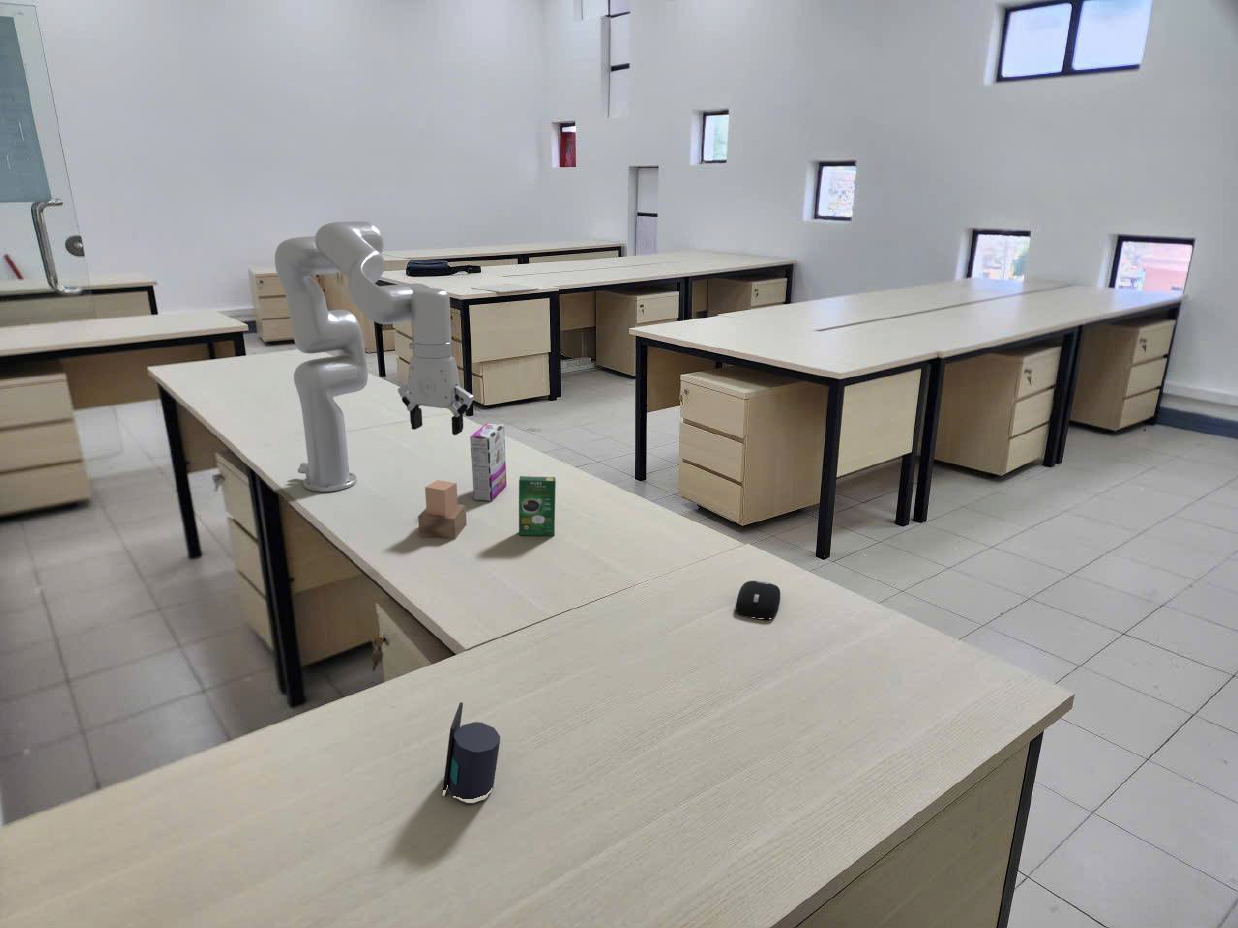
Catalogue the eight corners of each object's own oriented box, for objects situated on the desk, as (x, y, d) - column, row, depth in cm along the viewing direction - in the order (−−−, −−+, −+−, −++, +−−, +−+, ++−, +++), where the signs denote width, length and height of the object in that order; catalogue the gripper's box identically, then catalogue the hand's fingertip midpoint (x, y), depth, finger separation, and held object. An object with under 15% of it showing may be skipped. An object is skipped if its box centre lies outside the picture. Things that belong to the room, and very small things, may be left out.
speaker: (426, 793, 103) (431, 724, 100) (452, 766, 108) (458, 700, 105) (478, 816, 100) (484, 746, 97) (502, 788, 106) (509, 720, 102)
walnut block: (419, 537, 177) (418, 516, 175) (432, 523, 184) (430, 502, 183) (455, 540, 176) (454, 518, 174) (466, 525, 183) (465, 504, 182)
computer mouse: (784, 594, 156) (786, 575, 154) (773, 624, 145) (775, 604, 144) (745, 587, 158) (746, 568, 157) (731, 616, 147) (733, 596, 146)
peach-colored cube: (426, 513, 177) (425, 487, 175) (439, 505, 181) (437, 480, 179) (445, 516, 175) (444, 490, 173) (457, 508, 180) (456, 483, 178)
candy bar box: (488, 484, 207) (486, 422, 202) (507, 486, 206) (505, 424, 201) (472, 500, 197) (469, 435, 192) (491, 502, 196) (489, 437, 191)
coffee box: (556, 531, 181) (556, 475, 177) (555, 536, 178) (555, 480, 174) (519, 531, 181) (518, 475, 176) (518, 536, 178) (517, 479, 173)
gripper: (385, 350, 166) (391, 430, 172) (461, 357, 161) (464, 440, 167) (406, 343, 173) (411, 421, 178) (479, 351, 168) (482, 430, 173)
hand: (437, 430), depth 173 cm, fingers open, 9 cm apart
